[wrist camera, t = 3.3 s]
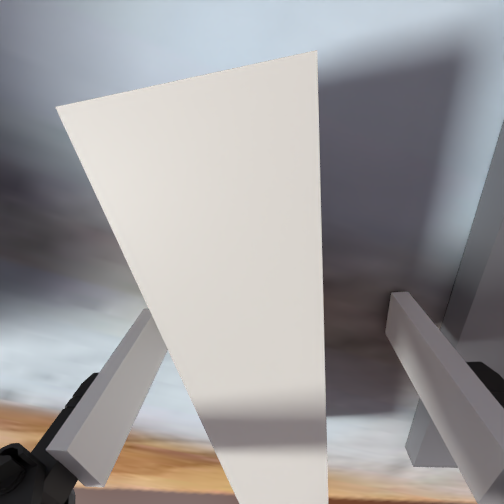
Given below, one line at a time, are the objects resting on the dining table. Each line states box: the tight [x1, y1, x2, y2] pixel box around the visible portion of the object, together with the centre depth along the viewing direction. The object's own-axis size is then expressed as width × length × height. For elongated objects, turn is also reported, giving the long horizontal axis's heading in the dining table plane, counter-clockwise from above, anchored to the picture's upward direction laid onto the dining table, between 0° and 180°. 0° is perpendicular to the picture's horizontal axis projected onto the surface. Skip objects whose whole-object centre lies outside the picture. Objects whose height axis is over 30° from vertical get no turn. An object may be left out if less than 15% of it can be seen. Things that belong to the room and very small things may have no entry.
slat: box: [55, 50, 328, 504], centre depth 11 cm, size 4×20×6 cm, turn 9°
